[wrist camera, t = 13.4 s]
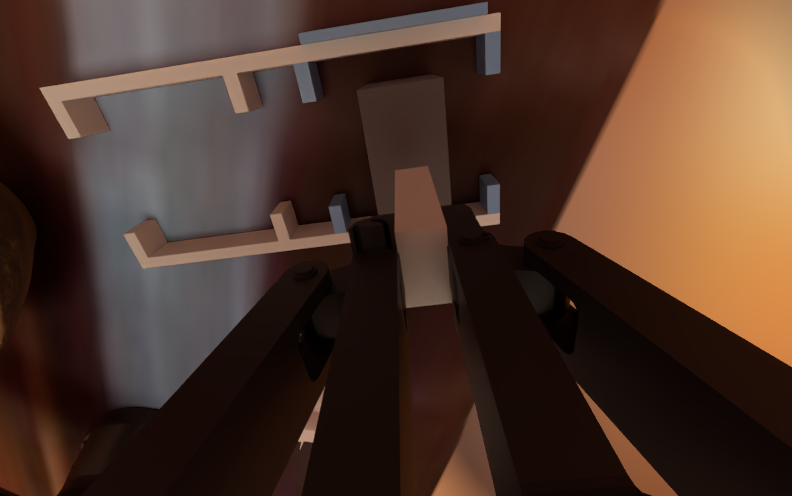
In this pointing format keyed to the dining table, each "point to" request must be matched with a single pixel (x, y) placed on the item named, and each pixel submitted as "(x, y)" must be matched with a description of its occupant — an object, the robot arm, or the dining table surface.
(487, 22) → the slotted rail
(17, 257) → the bowl
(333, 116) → the dining table surface
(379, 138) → the dark brown block
